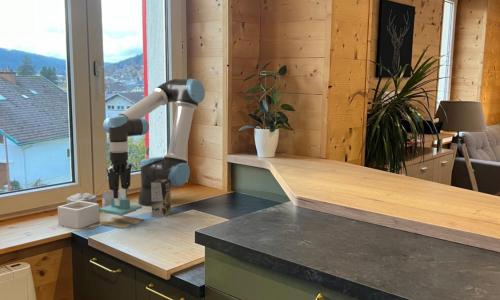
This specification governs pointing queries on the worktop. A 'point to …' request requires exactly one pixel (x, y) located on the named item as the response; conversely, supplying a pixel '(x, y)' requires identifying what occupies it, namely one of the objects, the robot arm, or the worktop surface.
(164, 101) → the robot arm
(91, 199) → the lumpy-topped squat cylinder
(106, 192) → the grey rectangular block
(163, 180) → the coffee box
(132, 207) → the lid
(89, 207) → the storage box
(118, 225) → the cork mat
